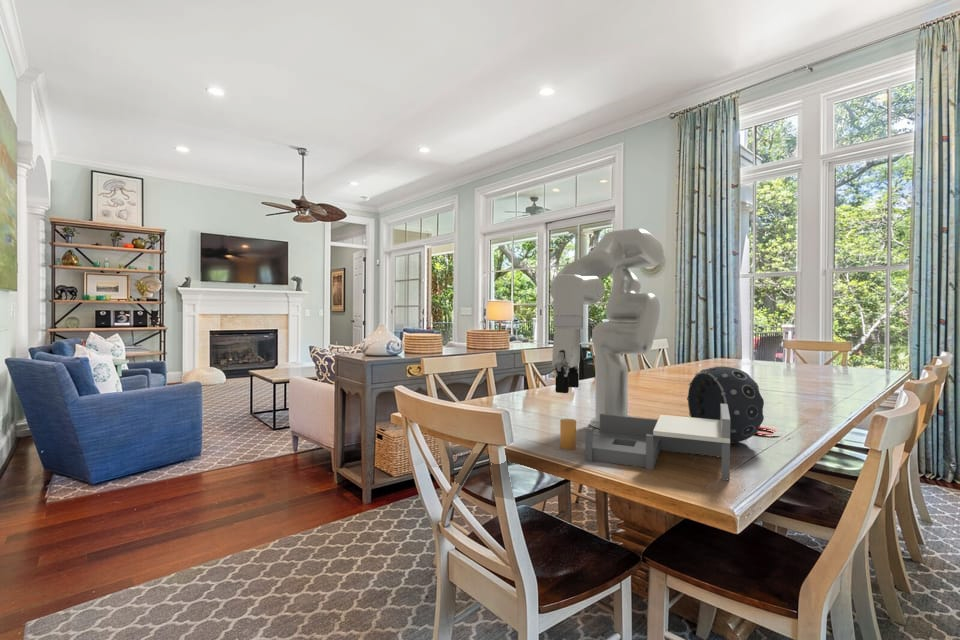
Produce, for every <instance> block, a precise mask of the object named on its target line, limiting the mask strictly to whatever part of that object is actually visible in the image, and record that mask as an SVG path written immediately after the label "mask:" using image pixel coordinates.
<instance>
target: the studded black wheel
mask: <svg viewBox="0 0 960 640" xmlns="http://www.w3.org/2000/svg"><path fill="white" fill-rule="evenodd" d="M688 385H689V388H688V393H687V397H686V400H687V405H688V412H689V414H688V415H689V417H692V418H703V419H714V420H720V403H721V404H728V410H729V415H730V444H733V443H739V442H743V441H747V440H749V439H750V438H752V437H754V436H756V435H755V434H756V433H757V432H759V430H758V429H759V427H760V426H761V425H762V424H763V421H764V419H765V416H764V405H765V403H764V398H763V396H762V395H761V393H760V386H759V384H758V382H756V381H755V379H753V378H752V377H751V376H750V374H749V373H747V372H746V371H743V370H741V369H739V368H735V367H731V366H724V365H723V366H711V367H709V368H706V369H705V368H704V369H701V370H700V372H698V373H695V375H694V377H693V378H692V380H691V381H690V382H689V384H688Z"/></svg>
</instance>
